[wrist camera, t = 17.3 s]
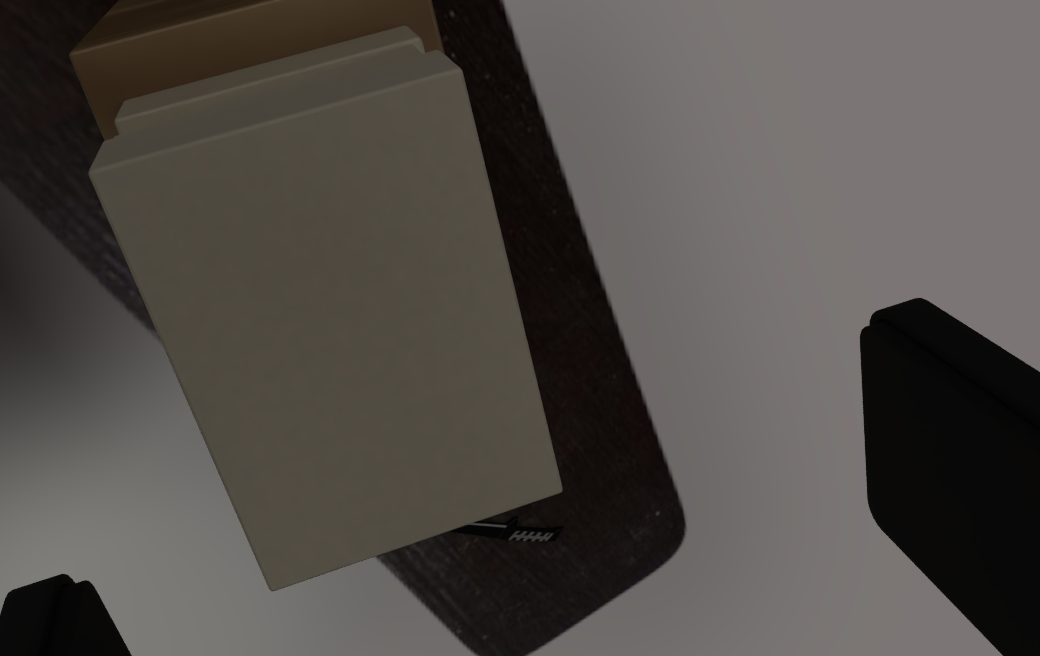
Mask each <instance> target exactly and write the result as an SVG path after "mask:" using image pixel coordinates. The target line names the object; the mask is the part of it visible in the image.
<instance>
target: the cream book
mask: <svg viewBox="0 0 1040 656" xmlns="http://www.w3.org/2000/svg"><path fill="white" fill-rule="evenodd" d="M89 177H90V179H91V181H92V184H93V186H94V188H95V191H96V193H97V195H98V197H99V200H100V202H101V204H102V207H103V209H104V211H105V213H106V216H107V218H108V220H109V223H110V225H111V227H112V230H113V232H114V234H115V236H116V239H117V241H118V243H119V246H120V248H121V250H122V252H123V255H124V257H125V259H126V262H127V264H128V266H129V269H130V271H131V273H132V275H133V278H134V280H135V282H136V285H137V287H138V289H139V291H140V294H141V296H142V298H143V301H144V303H145V305H146V308H147V310H148V312H149V314H150V317H151V319H152V321H153V324H154V326H155V328H156V330H157V333H158V335H159V337H160V340H161V342H162V344H163V347H164V349H165V351H166V353H167V356H168V358H169V360H170V363H171V365H172V367H173V369H174V372H175V374H176V376H177V379H178V381H179V383H180V386H181V388H182V390H183V392H184V395H185V397H186V399H187V402H188V404H189V406H190V408H191V410H192V413H193V415H194V418H195V420H196V422H197V425H198V427H199V429H200V431H201V434H202V436H203V438H204V441H205V443H206V445H207V447H208V450H209V452H210V454H211V457H212V459H213V461H214V463H215V466H216V468H217V470H218V473H219V475H220V477H221V479H222V482H223V484H224V486H225V488H226V491H227V493H228V496H229V498H230V500H231V503H232V505H233V507H234V509H235V512H236V514H237V516H238V519H239V521H240V523H241V525H242V528H243V530H244V532H245V535H246V537H247V539H248V542H249V544H250V546H251V548H252V551H253V553H254V555H255V557H256V560H257V562H258V565H259V567H260V569H261V571H262V574H263V576H264V578H265V580H266V583H267V585H268V587H269V589H270V590H271V591H276V590H278V589H282V588H285V587H288V586H290V585H293V584H296V583H299V582H302V581H305V580H308V579H311V578H313V577H317V576H320V575H322V574H325V573H328V572H331V571H334V570H337V569H340V568H343V567H346V566H349V565H351V564H354V563H357V562H360V561H363V560H366V559H369V558H372V557H375V556H378V555H381V554H384V553H386V552H389V551H392V550H395V549H398V548H401V547H404V546H407V545H410V544H413V543H416V542H418V541H421V540H424V539H427V538H430V537H433V536H436V535H439V534H442V533H445V532H448V531H450V530H453V529H456V528H459V527H462V526H465V525H468V524H471V523H474V522H477V521H480V520H482V519H485V518H488V517H491V516H494V515H497V514H500V513H503V512H506V511H509V510H512V509H514V508H517V507H520V506H523V505H526V504H529V503H532V502H535V501H538V500H541V499H544V498H547V497H549V496H552V495H555V494H558V493H560V492H562V484H561V480H560V476H559V472H558V467H557V463H556V459H555V455H554V451H553V447H552V442H551V438H550V434H549V430H548V426H547V422H546V417H545V413H544V409H543V405H542V401H541V397H540V392H539V388H538V384H537V380H536V376H535V372H534V367H533V363H532V359H531V355H530V351H529V347H528V342H527V338H526V334H525V330H524V326H523V322H522V317H521V313H520V309H519V305H518V301H517V297H516V292H515V288H514V284H513V280H512V276H511V272H510V267H509V263H508V259H507V255H506V251H505V247H504V242H503V238H502V234H501V230H500V226H499V222H498V217H497V213H496V209H495V205H494V201H493V197H492V192H491V188H490V184H489V180H488V176H487V172H486V167H485V163H484V159H483V155H482V151H481V147H480V142H479V138H478V134H477V130H476V126H475V122H474V117H473V113H472V109H471V105H470V101H469V97H468V92H467V88H466V84H465V80H464V76H463V72H462V70H461V69H460V68H459V67H458V66H457V65H456V64H455V63H454V62H452V61H451V60H450V59H449V58H448V57H446V56H445V55H444V54H443V53H442V52H441V51H439V50H434V51H430V52H427V53H423V54H419V55H416V56H412V57H408V58H405V59H401V60H398V61H394V62H390V63H387V64H383V65H379V66H376V67H372V68H368V69H365V70H361V71H357V72H354V73H350V74H346V75H343V76H339V77H336V78H332V79H328V80H325V81H321V82H317V83H314V84H310V85H306V86H303V87H299V88H295V89H292V90H288V91H284V92H281V93H277V94H273V95H270V96H266V97H263V98H259V99H255V100H252V101H248V102H244V103H241V104H237V105H233V106H230V107H226V108H222V109H219V110H215V111H211V112H208V113H204V114H200V115H197V116H193V117H190V118H186V119H182V120H179V121H175V122H171V123H168V124H164V125H160V126H157V127H153V128H149V129H146V130H142V131H138V132H135V133H131V134H127V135H124V136H120V137H117V138H113V139H109V140H106V141H104V142H103V144H102V146H101V148H100V150H99V152H98V154H97V156H96V158H95V160H94V162H93V164H92V166H91V168H90V170H89Z"/></svg>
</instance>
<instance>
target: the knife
mask: <svg viewBox="0 0 1040 656" xmlns="http://www.w3.org/2000/svg"><path fill="white" fill-rule="evenodd" d="M517 521H518V517H516V518H515V519H513V520H512V521H511V522H509V523H508V524H498V523H485V522H474V523H471V524H468V525H465V526H462V527H459V528H456V529H453V530H450V531H452V532H458V533H465V534H472V535H479V536H486V537H493V538H500V539H508V540H521V541H556V539H557V537H558V536H559V534H560V532H561V531H562V529H563V527H564V526H563V527H559V528H554V529H544V528H530V527H516V525H517Z"/></svg>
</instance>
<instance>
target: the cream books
mask: <svg viewBox="0 0 1040 656" xmlns="http://www.w3.org/2000/svg"><path fill="white" fill-rule="evenodd" d="M423 53H425V50H424V46H423V43H422V40H421V38H420V37H419V36H418V35H417V34H416V33H414V32H413V31H412V30H411V29H410V28H409V27H407V26H400V27H397V28H393V29H389V30H385V31H382V32H378V33H374V34H370V35H367V36H363V37H359V38H356V39H352V40H348V41H344V42H341V43H337V44H333V45H330V46H326V47H322V48H318V49H315V50H311V51H307V52H304V53H300V54H296V55H292V56H289V57H285V58H281V59H278V60H274V61H270V62H266V63H263V64H259V65H255V66H252V67H248V68H244V69H240V70H237V71H233V72H229V73H226V74H222V75H218V76H214V77H211V78H207V79H203V80H199V81H196V82H192V83H188V84H185V85H181V86H177V87H173V88H170V89H166V90H162V91H159V92H155V93H151V94H147V95H144V96H140V97H136V98H133V99H129V100H126V101H124V102H123V104H122V106H121V108H120V110H119V112H118V114H117V116H116V118H115V126H116V128H117V130H118V133H119V135H117V136H115V137H114V138H117V137H120V136H124V135H127V134H131V133H135V132H138V131H142V130H146V129H149V128H153V127H157V126H160V125H164V124H168V123H171V122H175V121H179V120H182V119H186V118H190V117H193V116H197V115H200V114H204V113H208V112H211V111H215V110H219V109H222V108H226V107H230V106H233V105H237V104H241V103H244V102H248V101H252V100H255V99H259V98H263V97H266V96H270V95H273V94H277V93H281V92H284V91H288V90H292V89H295V88H299V87H303V86H306V85H310V84H314V83H317V82H321V81H325V80H328V79H332V78H336V77H339V76H343V75H346V74H350V73H354V72H357V71H361V70H365V69H368V68H372V67H376V66H379V65H383V64H387V63H390V62H394V61H398V60H401V59H405V58H408V57H412V56H416V55H419V54H423Z"/></svg>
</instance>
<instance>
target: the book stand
mask: <svg viewBox="0 0 1040 656" xmlns="http://www.w3.org/2000/svg"><path fill="white" fill-rule="evenodd" d="M400 26H407V27H409V28H410V29H411V30H412V31H413V32H414V33H416V34H417V35H418V36H419V37H420V38H421V40H422V43H423V46H424V50H425V53H427V52H430V51H434V50H439V51H441V52H442V53H443V54H444V55H445V53H444V49H443V45H442V41H441V37H440V33H439V29H438V25H437V21H436V17H435V13H434V9H433V4H432V0H118V2H117V3H116V4H115V5H114V6H113V7H112V8H111V9H110V10H109V11H108V12H107V13H106V14H105V15H104V17H103V18H102V19H101V20H100V21H99V22H98V23H97V24H96V25H95V26H94V27H93V28H92V29H91V31H90V32H89V33H88V34H87V35H86V36H85V37H84V38H83V39H82V40H81V41H80V42H79V43H78V44H77V46H76V47H75V48H74V49H73V50H72V51H71V52H70V53H69V57H70V59H71V62H72V64H73V66H74V69H75V71H76V74H77V76H78V78H79V81H80V83H81V86H82V88H83V90H84V93H85V95H86V97H87V100H88V102H89V105H90V107H91V109H92V112H93V114H94V116H95V119H96V121H97V124H98V126H99V128H100V131H101V133H102V135H103V138H104V140H105V141H106V140H109V139H113V138H114V137H115V136H117V135H119V133H118V130H117V128H116V126H115V118H116V116H117V114H118V112H119V110H120V108H121V106H122V104H123V102H124V101H126V100H129V99H133V98H136V97H140V96H144V95H147V94H151V93H155V92H159V91H162V90H166V89H170V88H173V87H177V86H181V85H185V84H188V83H192V82H196V81H199V80H203V79H207V78H211V77H214V76H218V75H222V74H226V73H229V72H233V71H237V70H240V69H244V68H248V67H252V66H255V65H259V64H263V63H266V62H270V61H274V60H278V59H281V58H285V57H289V56H292V55H296V54H300V53H304V52H307V51H311V50H315V49H318V48H322V47H326V46H330V45H333V44H337V43H341V42H344V41H348V40H352V39H356V38H359V37H363V36H367V35H370V34H374V33H378V32H382V31H385V30H389V29H393V28H397V27H400Z"/></svg>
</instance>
